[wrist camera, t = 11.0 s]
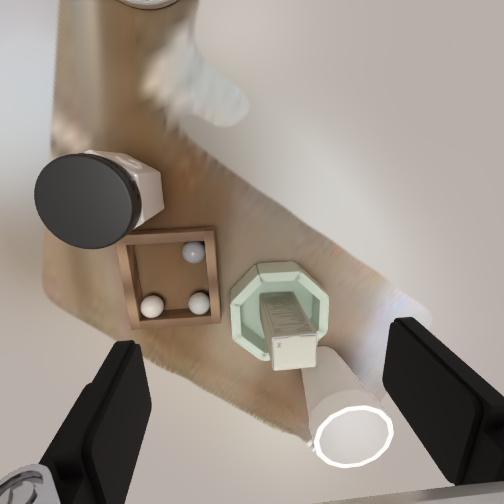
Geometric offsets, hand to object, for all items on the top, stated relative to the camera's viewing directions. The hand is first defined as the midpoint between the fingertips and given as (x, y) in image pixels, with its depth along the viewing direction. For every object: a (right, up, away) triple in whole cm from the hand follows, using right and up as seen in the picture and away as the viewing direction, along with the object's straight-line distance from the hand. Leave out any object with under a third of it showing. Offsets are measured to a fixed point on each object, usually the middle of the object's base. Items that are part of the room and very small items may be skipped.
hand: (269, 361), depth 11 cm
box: (+3, -4, +31) cm, 31 cm away
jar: (-16, +12, +25) cm, 32 cm away
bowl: (+3, -4, +31) cm, 31 cm away
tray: (-11, +1, +29) cm, 31 cm away
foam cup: (+10, -14, +35) cm, 39 cm away
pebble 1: (-14, -5, +29) cm, 32 cm away
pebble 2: (-8, +5, +28) cm, 29 cm away
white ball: (-8, -3, +30) cm, 31 cm away
